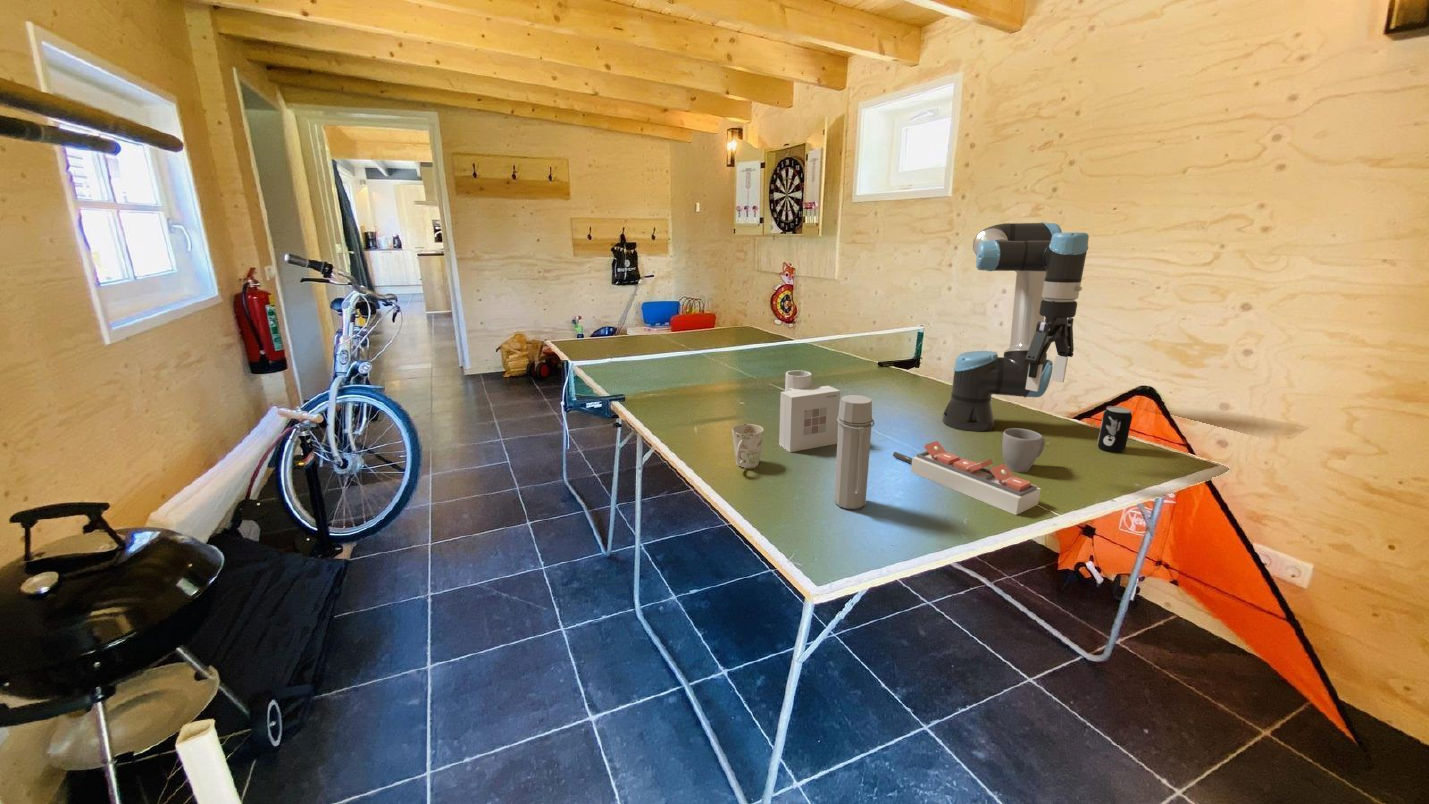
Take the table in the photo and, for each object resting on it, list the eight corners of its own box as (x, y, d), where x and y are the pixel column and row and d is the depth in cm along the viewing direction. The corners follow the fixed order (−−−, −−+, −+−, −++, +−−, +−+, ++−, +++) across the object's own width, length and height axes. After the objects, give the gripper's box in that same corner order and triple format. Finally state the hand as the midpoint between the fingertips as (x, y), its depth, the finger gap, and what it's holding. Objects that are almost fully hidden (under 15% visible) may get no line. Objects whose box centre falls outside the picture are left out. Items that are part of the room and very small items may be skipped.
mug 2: (1017, 477, 141) (1023, 441, 139) (990, 464, 149) (995, 430, 147) (1054, 470, 145) (1060, 435, 142) (1026, 458, 153) (1031, 425, 150)
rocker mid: (953, 471, 137) (951, 462, 137) (964, 467, 139) (963, 458, 139) (983, 473, 130) (981, 463, 130) (994, 468, 132) (992, 459, 132)
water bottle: (828, 497, 132) (833, 394, 124) (860, 495, 132) (868, 393, 125) (839, 516, 123) (846, 407, 116) (874, 514, 123) (883, 406, 116)
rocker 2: (986, 474, 129) (991, 466, 128) (998, 470, 132) (1002, 462, 130) (1016, 496, 124) (1021, 488, 123) (1027, 490, 126) (1032, 483, 125)
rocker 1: (921, 450, 144) (925, 443, 142) (933, 447, 146) (936, 440, 145) (946, 469, 138) (949, 461, 137) (957, 464, 141) (961, 457, 140)
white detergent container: (790, 452, 158) (792, 384, 152) (758, 432, 175) (759, 369, 169) (837, 443, 165) (841, 377, 159) (803, 425, 181) (805, 364, 175)
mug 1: (766, 460, 153) (767, 425, 150) (754, 478, 142) (754, 441, 139) (737, 456, 156) (737, 422, 153) (722, 474, 144) (722, 438, 141)
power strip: (883, 460, 152) (884, 444, 151) (905, 453, 157) (906, 437, 155) (1015, 515, 123) (1019, 495, 121) (1037, 504, 127) (1041, 485, 126)
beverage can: (1129, 454, 155) (1138, 413, 152) (1102, 452, 156) (1111, 412, 153) (1117, 446, 161) (1126, 406, 158) (1092, 444, 163) (1100, 405, 159)
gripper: (1051, 305, 124) (1036, 397, 130) (1098, 297, 138) (1083, 380, 144) (1017, 302, 130) (1004, 390, 136) (1066, 294, 144) (1052, 375, 150)
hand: (1044, 385), depth 140 cm, fingers open, 13 cm apart
